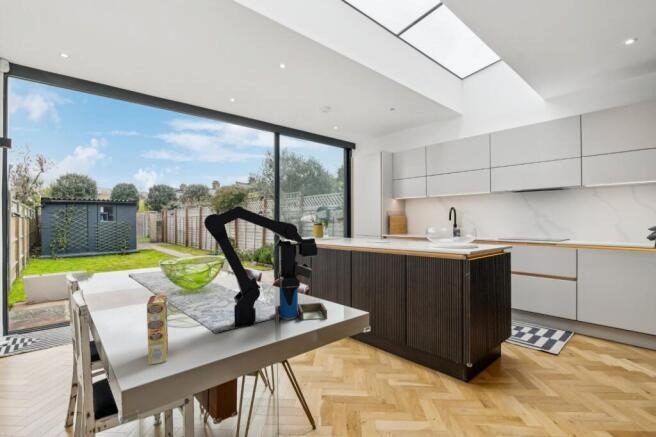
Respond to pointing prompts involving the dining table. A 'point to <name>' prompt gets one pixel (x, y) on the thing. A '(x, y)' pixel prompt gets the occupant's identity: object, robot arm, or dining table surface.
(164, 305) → the candy box
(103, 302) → the dining table surface
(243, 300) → the robot arm
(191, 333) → the dining table surface
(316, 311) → the slot rack
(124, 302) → the dining table surface
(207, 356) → the dining table surface
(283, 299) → the beverage can
